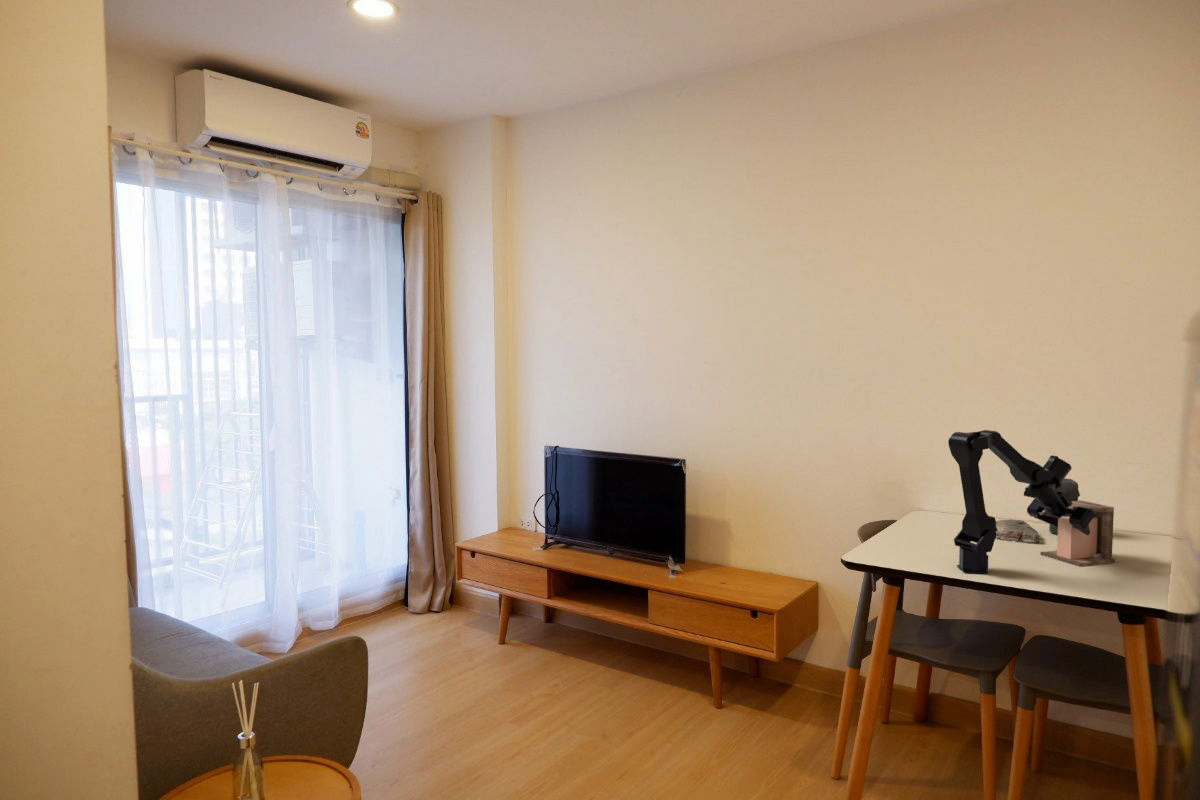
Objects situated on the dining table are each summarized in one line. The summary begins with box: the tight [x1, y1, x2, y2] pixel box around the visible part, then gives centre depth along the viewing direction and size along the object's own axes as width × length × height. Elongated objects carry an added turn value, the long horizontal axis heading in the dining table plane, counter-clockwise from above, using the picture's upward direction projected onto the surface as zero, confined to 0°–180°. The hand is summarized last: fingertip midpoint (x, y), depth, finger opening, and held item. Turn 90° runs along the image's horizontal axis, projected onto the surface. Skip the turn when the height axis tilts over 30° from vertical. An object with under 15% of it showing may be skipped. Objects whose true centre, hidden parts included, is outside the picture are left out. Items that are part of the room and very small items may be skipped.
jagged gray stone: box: [996, 519, 1040, 544], centre depth 251 cm, size 14×5×20 cm
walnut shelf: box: [1040, 500, 1117, 567], centre depth 222 cm, size 14×13×16 cm
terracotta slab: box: [1056, 516, 1098, 559], centre depth 222 cm, size 10×4×12 cm, turn 107°
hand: (1074, 530), depth 222 cm, fingers open, 9 cm apart
